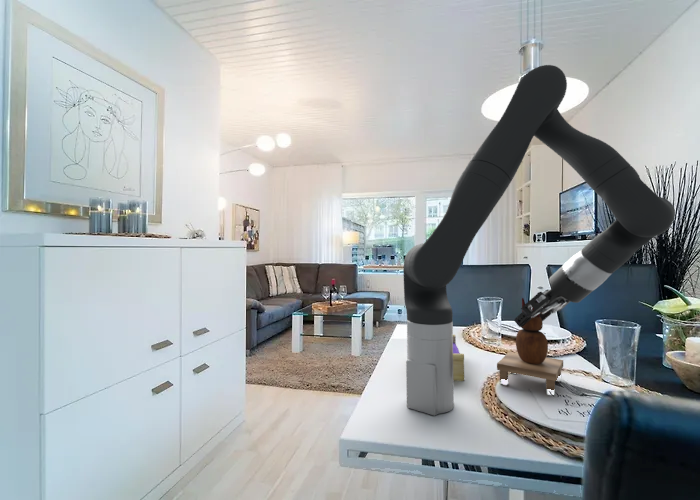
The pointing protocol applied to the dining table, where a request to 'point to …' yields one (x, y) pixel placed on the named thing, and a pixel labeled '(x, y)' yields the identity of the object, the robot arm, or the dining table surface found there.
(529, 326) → the wooden figurine
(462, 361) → the toy sofa
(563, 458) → the dining table surface
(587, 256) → the robot arm
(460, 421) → the dining table surface
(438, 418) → the dining table surface
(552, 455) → the dining table surface
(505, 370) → the footstool
